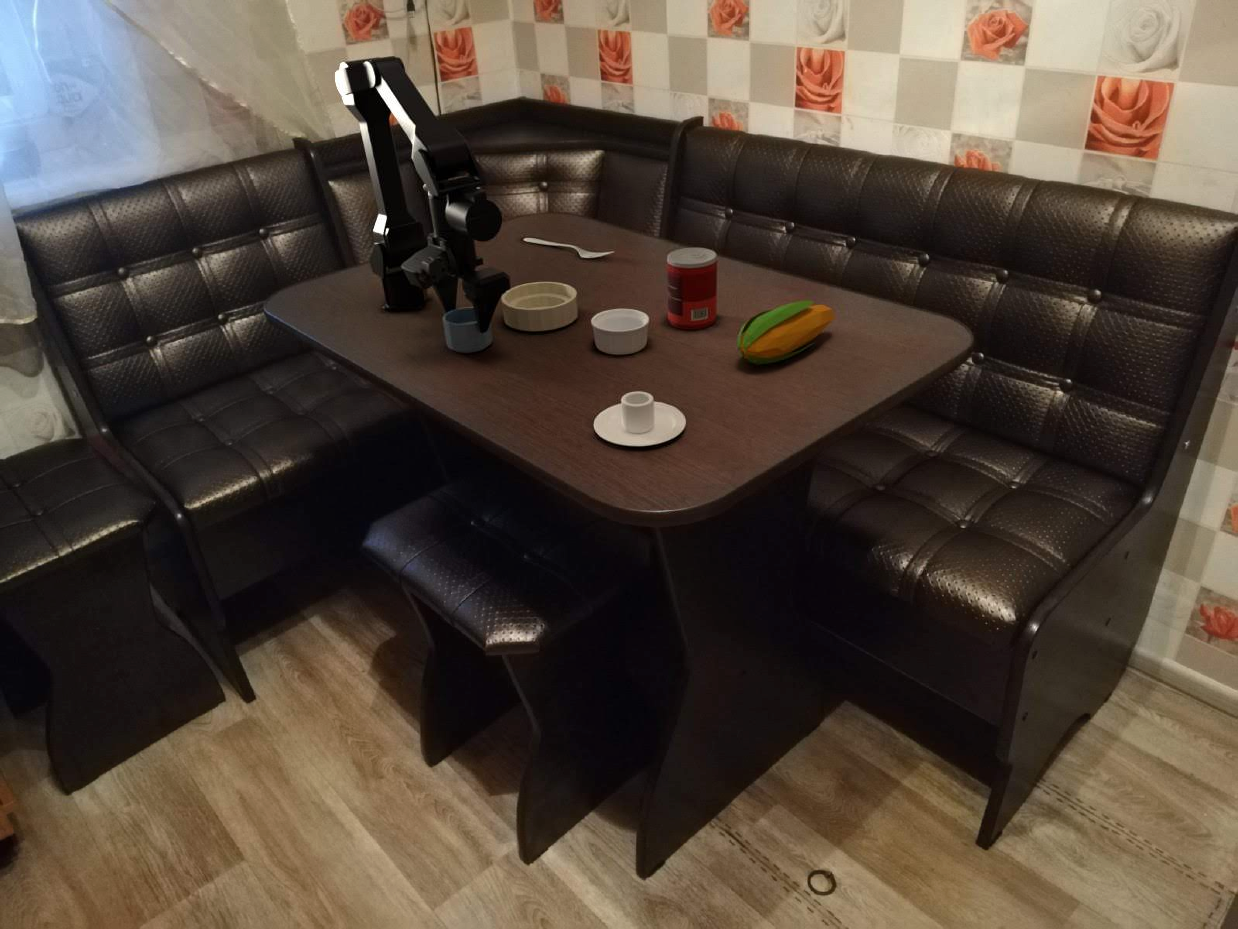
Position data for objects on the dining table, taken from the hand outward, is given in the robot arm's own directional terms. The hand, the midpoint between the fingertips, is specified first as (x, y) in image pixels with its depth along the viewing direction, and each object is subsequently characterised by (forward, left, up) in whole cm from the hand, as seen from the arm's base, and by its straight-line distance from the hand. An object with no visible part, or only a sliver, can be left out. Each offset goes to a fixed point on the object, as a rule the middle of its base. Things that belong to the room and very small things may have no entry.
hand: (467, 324), depth 144 cm
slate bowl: (0, 0, -4) cm, 4 cm away
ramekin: (+24, -1, -4) cm, 24 cm away
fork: (+10, +45, -4) cm, 46 cm away
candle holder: (+28, -27, -4) cm, 39 cm away
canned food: (+35, +8, -4) cm, 36 cm away
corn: (+49, -4, -4) cm, 49 cm away
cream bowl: (+10, +10, -4) cm, 15 cm away
